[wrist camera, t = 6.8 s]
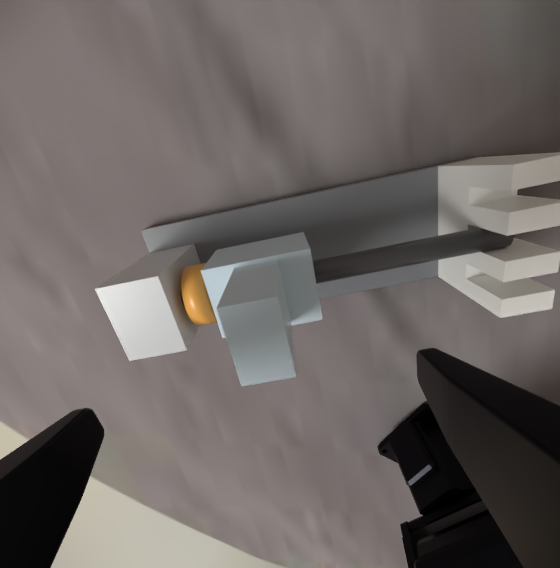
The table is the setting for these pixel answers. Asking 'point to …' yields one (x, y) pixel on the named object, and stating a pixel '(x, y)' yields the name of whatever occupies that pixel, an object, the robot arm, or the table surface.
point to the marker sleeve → (263, 303)
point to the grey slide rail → (357, 245)
